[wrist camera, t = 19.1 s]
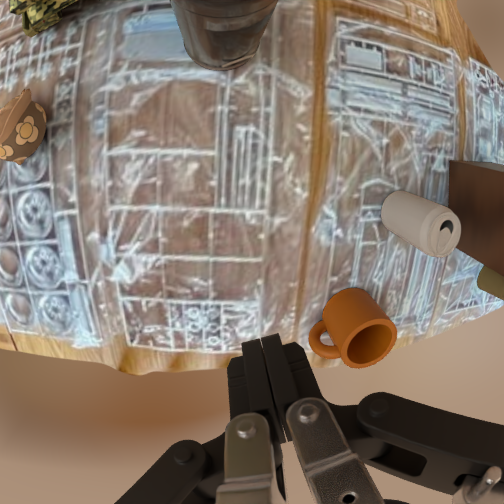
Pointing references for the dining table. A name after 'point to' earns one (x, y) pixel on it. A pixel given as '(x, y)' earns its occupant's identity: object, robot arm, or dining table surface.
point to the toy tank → (38, 13)
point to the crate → (479, 210)
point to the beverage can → (421, 223)
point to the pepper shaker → (491, 282)
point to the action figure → (21, 128)
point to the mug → (354, 329)
